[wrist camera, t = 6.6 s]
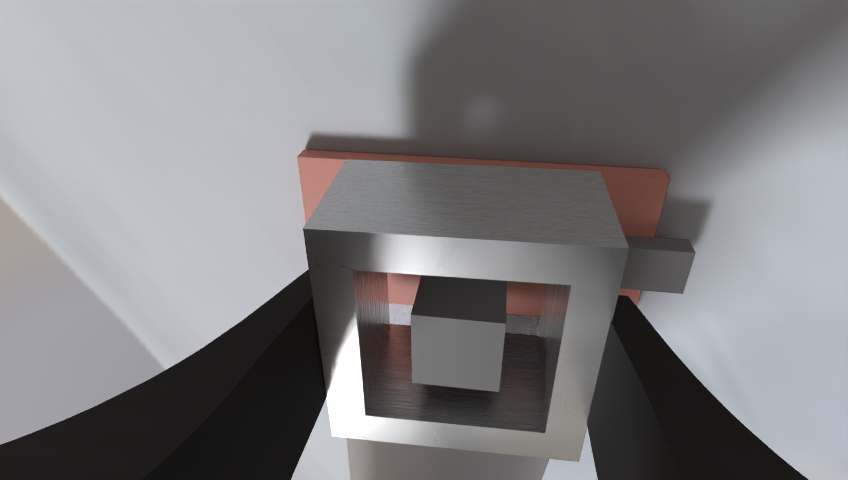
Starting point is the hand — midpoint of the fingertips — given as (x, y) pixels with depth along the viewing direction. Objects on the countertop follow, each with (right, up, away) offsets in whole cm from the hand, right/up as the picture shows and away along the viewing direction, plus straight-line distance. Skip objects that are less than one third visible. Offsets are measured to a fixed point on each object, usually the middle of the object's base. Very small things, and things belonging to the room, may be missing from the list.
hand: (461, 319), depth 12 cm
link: (0, +1, +1) cm, 2 cm away
